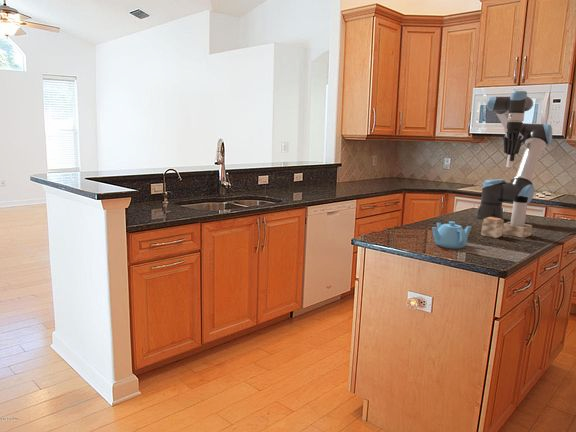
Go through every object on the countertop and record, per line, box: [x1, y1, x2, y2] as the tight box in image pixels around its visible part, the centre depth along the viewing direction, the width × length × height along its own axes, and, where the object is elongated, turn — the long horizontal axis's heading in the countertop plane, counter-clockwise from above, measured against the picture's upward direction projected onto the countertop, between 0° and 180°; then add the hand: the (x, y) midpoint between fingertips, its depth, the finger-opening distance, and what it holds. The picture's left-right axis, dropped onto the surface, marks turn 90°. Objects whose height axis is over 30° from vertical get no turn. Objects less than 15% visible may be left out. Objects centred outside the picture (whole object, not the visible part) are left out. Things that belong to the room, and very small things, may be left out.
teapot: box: [431, 220, 472, 250], centre depth 206 cm, size 15×15×11 cm
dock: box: [480, 219, 533, 239], centre depth 231 cm, size 16×22×8 cm
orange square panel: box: [485, 217, 501, 222], centre depth 228 cm, size 6×6×3 cm
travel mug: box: [510, 196, 528, 227], centre depth 232 cm, size 6×7×20 cm
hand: (509, 167), depth 246 cm, fingers closed
